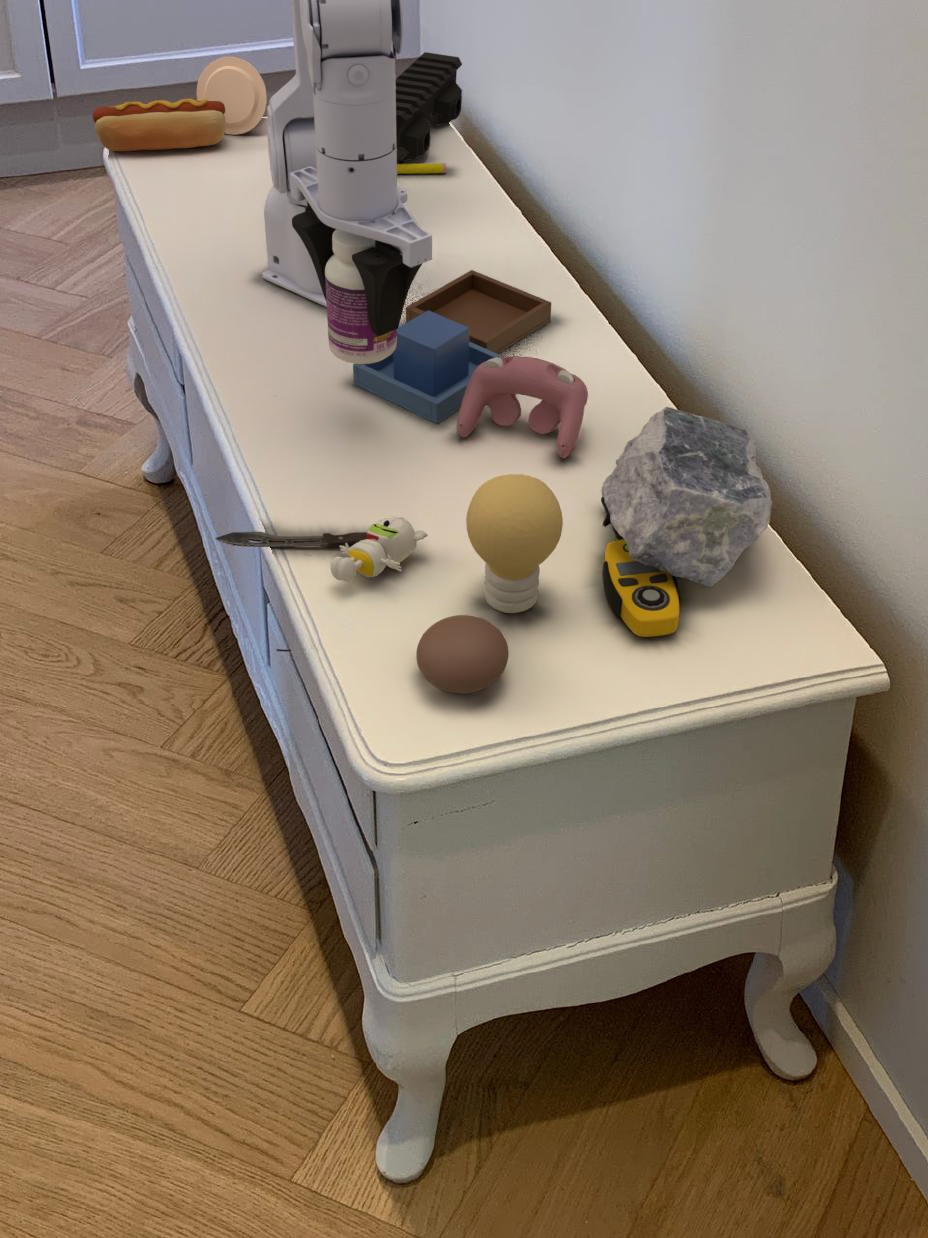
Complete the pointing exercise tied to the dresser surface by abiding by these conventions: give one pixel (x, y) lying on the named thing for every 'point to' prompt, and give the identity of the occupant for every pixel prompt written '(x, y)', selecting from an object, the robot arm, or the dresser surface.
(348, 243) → the pill bottle
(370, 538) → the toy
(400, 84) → the rail mount
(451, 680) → the egg
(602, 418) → the dresser surface
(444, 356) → the blue block
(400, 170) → the pencil
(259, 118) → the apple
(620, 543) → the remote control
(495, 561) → the light bulb
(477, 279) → the walnut tray
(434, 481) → the dresser surface
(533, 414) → the video game controller
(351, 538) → the knife
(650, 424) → the rock
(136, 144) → the food
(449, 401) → the blue tray
